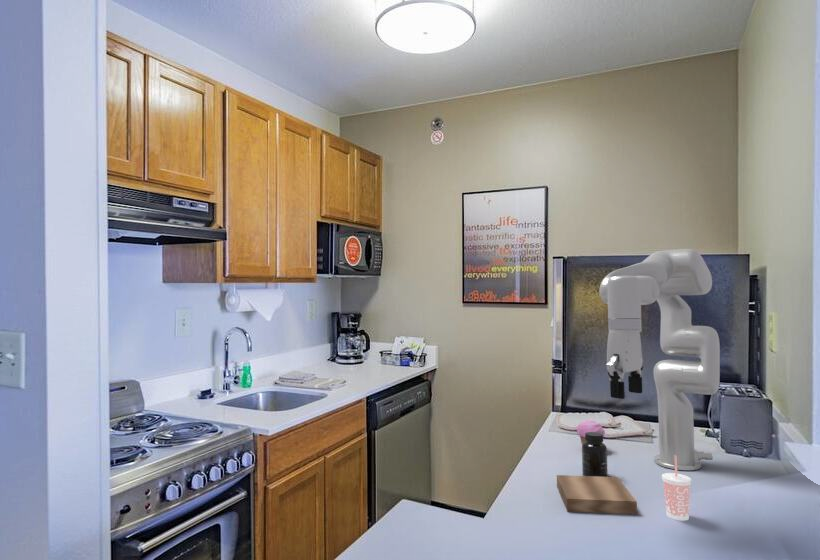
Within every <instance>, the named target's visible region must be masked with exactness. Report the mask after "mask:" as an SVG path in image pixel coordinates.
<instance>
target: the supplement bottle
mask: <svg viewBox="0 0 820 560" xmlns="http://www.w3.org/2000/svg"><path fill="white" fill-rule="evenodd" d="M585 440H586V442H584V443H583V444H582V443H581V465H582V466H581V469H582V472H581V473H582V476H598V477H609V476H608V475H609V473H608V447H607V445H606V444H605V443H603V442H604V437H603V434H601V433H597V432H587V433H585Z"/></svg>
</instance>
